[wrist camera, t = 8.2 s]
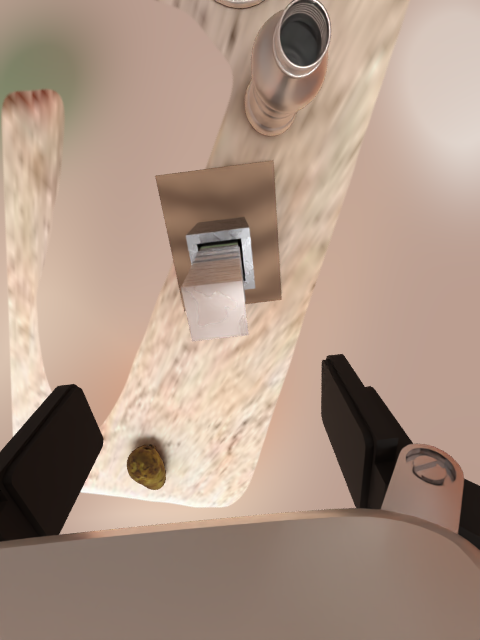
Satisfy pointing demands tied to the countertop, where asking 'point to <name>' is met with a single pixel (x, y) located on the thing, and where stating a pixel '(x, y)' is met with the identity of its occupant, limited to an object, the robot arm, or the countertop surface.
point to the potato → (147, 467)
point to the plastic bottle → (287, 65)
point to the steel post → (216, 292)
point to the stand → (226, 221)
